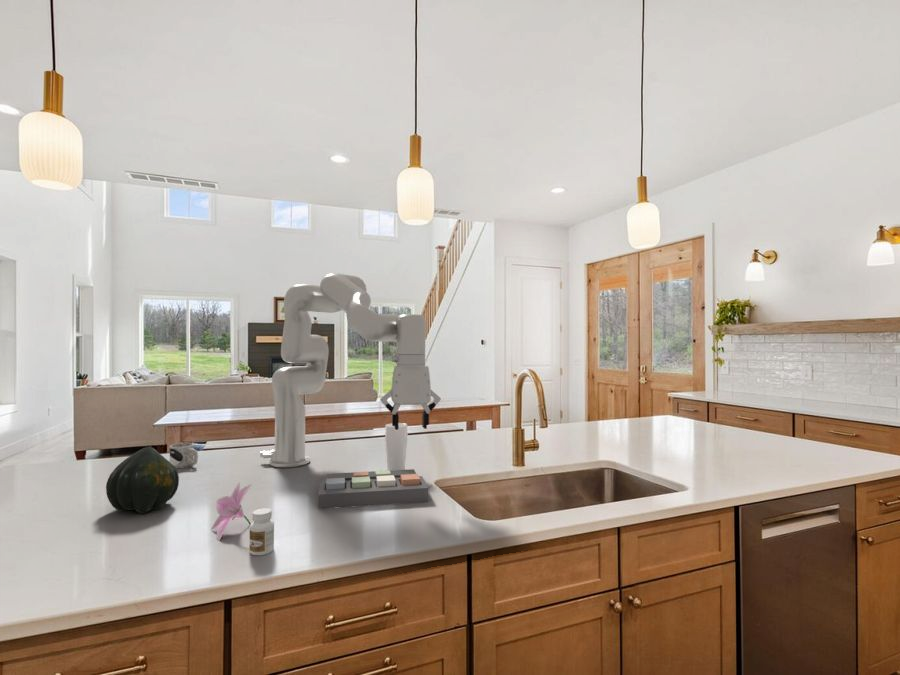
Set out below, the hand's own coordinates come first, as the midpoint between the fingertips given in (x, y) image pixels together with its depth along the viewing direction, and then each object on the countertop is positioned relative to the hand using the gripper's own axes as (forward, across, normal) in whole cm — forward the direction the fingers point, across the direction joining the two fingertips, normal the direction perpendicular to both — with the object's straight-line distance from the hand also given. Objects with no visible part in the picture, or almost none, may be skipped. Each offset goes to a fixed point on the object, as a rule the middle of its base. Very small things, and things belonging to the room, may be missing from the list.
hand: (410, 427), depth 126 cm
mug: (+18, -67, +41) cm, 80 cm away
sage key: (+15, -13, 0) cm, 20 cm away
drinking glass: (+18, -2, +20) cm, 27 cm away
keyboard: (+18, -10, +2) cm, 20 cm away
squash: (+18, -65, +3) cm, 67 cm away
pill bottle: (+18, -33, -27) cm, 46 cm away
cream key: (+15, -6, 0) cm, 17 cm away
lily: (+18, -41, -15) cm, 47 cm away
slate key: (+15, -19, 0) cm, 25 cm away
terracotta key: (+15, 0, 0) cm, 15 cm away
